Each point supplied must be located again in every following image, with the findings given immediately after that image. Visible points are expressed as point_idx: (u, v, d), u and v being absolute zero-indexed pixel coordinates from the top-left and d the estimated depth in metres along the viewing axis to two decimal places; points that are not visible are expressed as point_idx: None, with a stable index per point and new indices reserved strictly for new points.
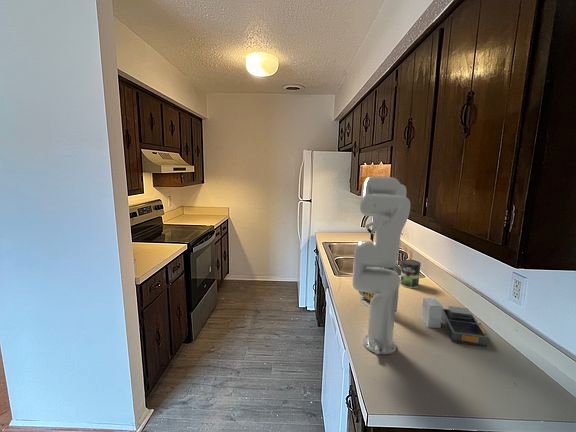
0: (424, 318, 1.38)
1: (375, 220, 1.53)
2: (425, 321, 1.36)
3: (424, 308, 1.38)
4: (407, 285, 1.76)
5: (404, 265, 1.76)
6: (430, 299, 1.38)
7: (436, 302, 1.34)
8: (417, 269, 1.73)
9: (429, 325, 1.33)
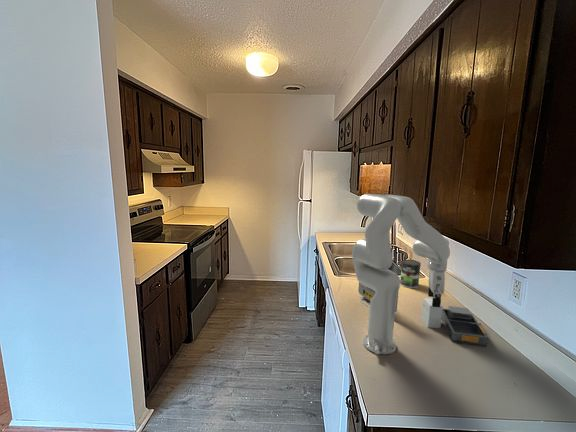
0: (424, 318, 1.38)
1: (444, 281, 1.29)
2: (425, 321, 1.36)
3: (424, 308, 1.38)
4: (407, 285, 1.76)
5: (404, 265, 1.76)
6: (430, 299, 1.38)
7: None
8: (417, 269, 1.73)
9: (429, 325, 1.33)
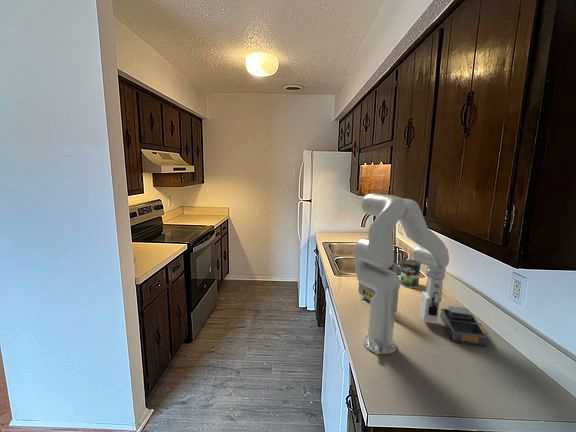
0: (421, 311, 1.37)
1: None
2: (422, 314, 1.35)
3: (422, 301, 1.37)
4: (407, 285, 1.76)
5: (404, 265, 1.76)
6: None
7: None
8: (417, 269, 1.73)
9: (425, 318, 1.32)
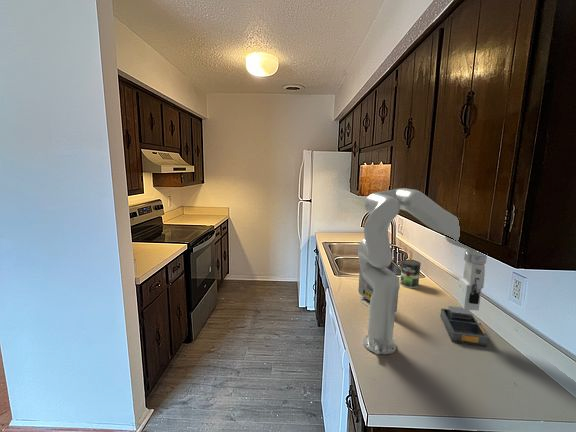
0: (460, 299, 1.25)
1: None
2: (461, 303, 1.24)
3: (460, 289, 1.25)
4: (407, 285, 1.76)
5: (404, 265, 1.76)
6: None
7: None
8: (417, 269, 1.73)
9: (465, 307, 1.21)
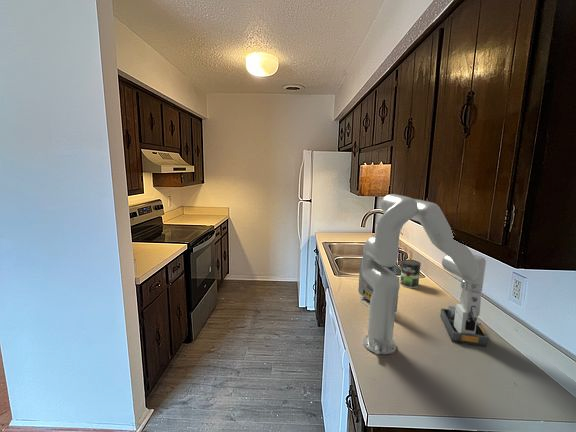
0: (456, 325, 1.27)
1: None
2: (457, 329, 1.26)
3: (457, 314, 1.27)
4: (407, 285, 1.76)
5: (404, 265, 1.76)
6: None
7: None
8: (417, 269, 1.73)
9: None
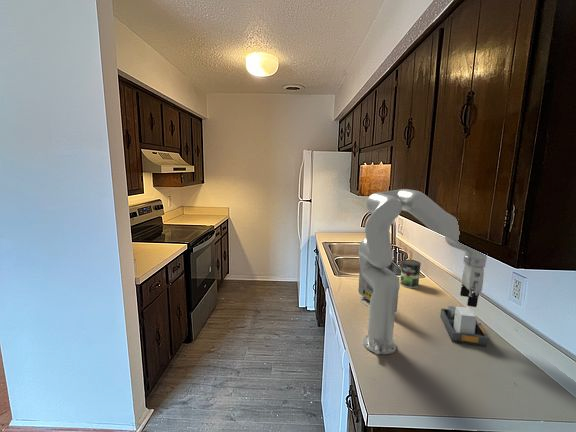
0: (456, 328, 1.28)
1: None
2: (456, 331, 1.27)
3: (456, 317, 1.28)
4: (407, 285, 1.76)
5: (404, 265, 1.76)
6: (463, 308, 1.27)
7: (470, 312, 1.24)
8: (417, 269, 1.73)
9: None
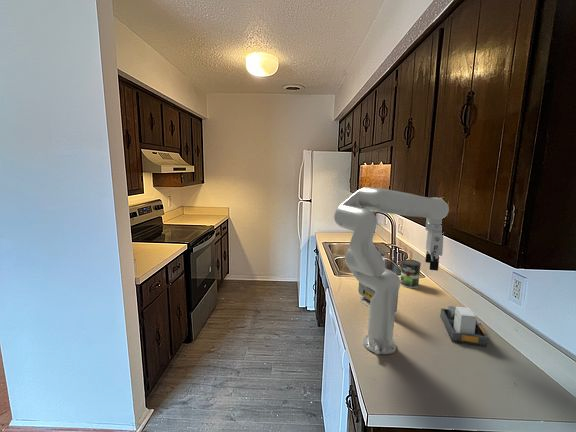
0: (456, 328, 1.28)
1: (442, 242, 1.22)
2: (456, 331, 1.27)
3: (456, 317, 1.28)
4: (407, 285, 1.76)
5: (404, 265, 1.76)
6: (463, 308, 1.27)
7: (470, 312, 1.24)
8: (417, 269, 1.73)
9: None
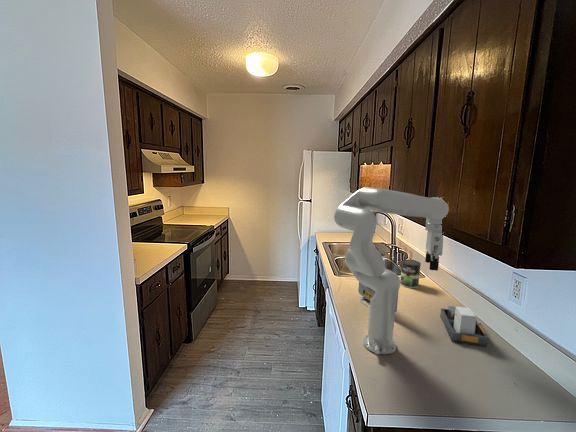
0: (456, 328, 1.28)
1: (442, 242, 1.22)
2: (456, 331, 1.27)
3: (456, 317, 1.28)
4: (407, 285, 1.76)
5: (404, 265, 1.76)
6: (463, 308, 1.27)
7: (470, 312, 1.24)
8: (417, 269, 1.73)
9: None
